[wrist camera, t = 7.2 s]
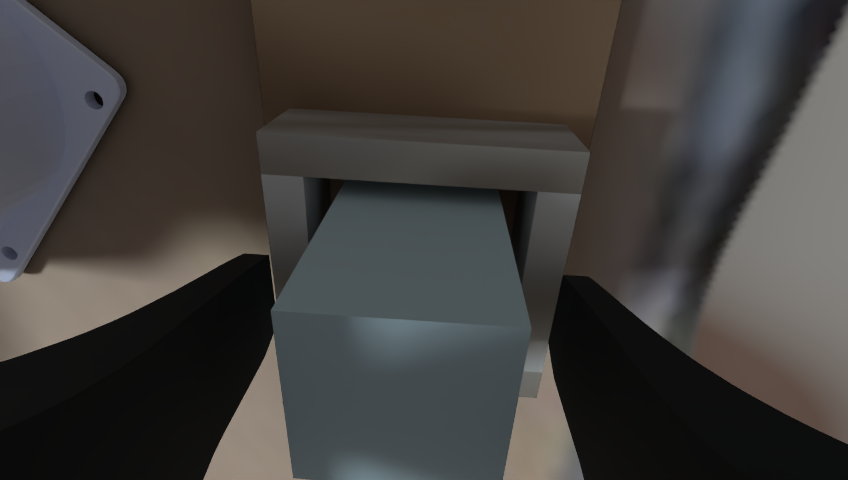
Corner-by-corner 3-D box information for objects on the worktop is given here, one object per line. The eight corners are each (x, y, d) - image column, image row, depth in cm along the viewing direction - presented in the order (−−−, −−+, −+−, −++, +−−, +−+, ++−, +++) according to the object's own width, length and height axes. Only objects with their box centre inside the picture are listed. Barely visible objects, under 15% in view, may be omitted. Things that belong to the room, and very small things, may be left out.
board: (245, -197, 11) (158, -277, 7) (646, -180, 10) (729, -255, 7) (295, 308, 17) (261, 377, 14) (541, 325, 17) (561, 399, 14)
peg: (480, 289, 15) (500, 493, 9) (357, 281, 15) (293, 478, 9) (493, 172, 13) (531, 328, 7) (354, 164, 13) (270, 310, 7)
